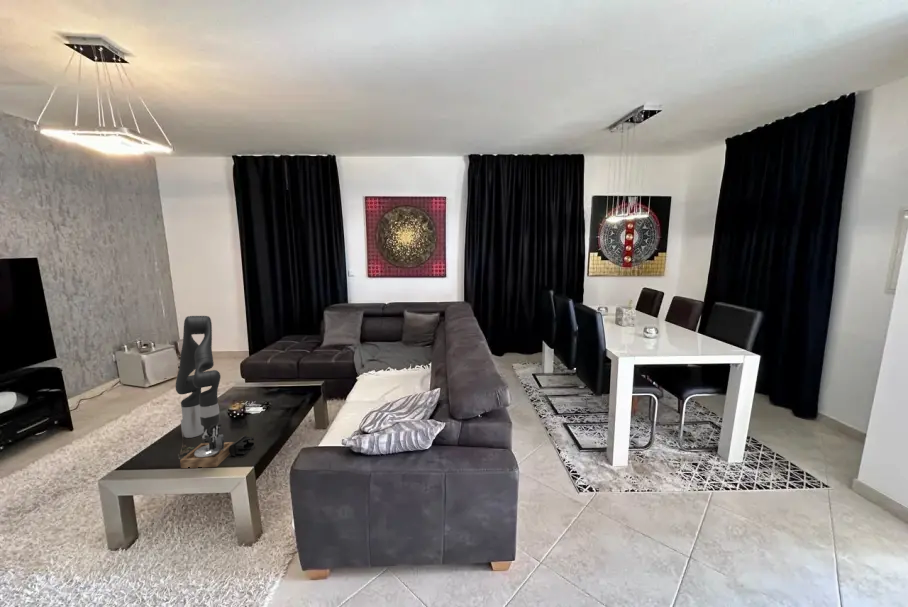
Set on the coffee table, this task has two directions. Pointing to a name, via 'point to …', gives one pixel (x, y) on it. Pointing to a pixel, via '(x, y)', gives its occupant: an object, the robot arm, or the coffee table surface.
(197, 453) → the dial
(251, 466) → the coffee table surface
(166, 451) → the coffee table surface
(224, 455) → the wooden square tray
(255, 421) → the coffee table surface
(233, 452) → the end cap
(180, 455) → the eiffel tower figurine
